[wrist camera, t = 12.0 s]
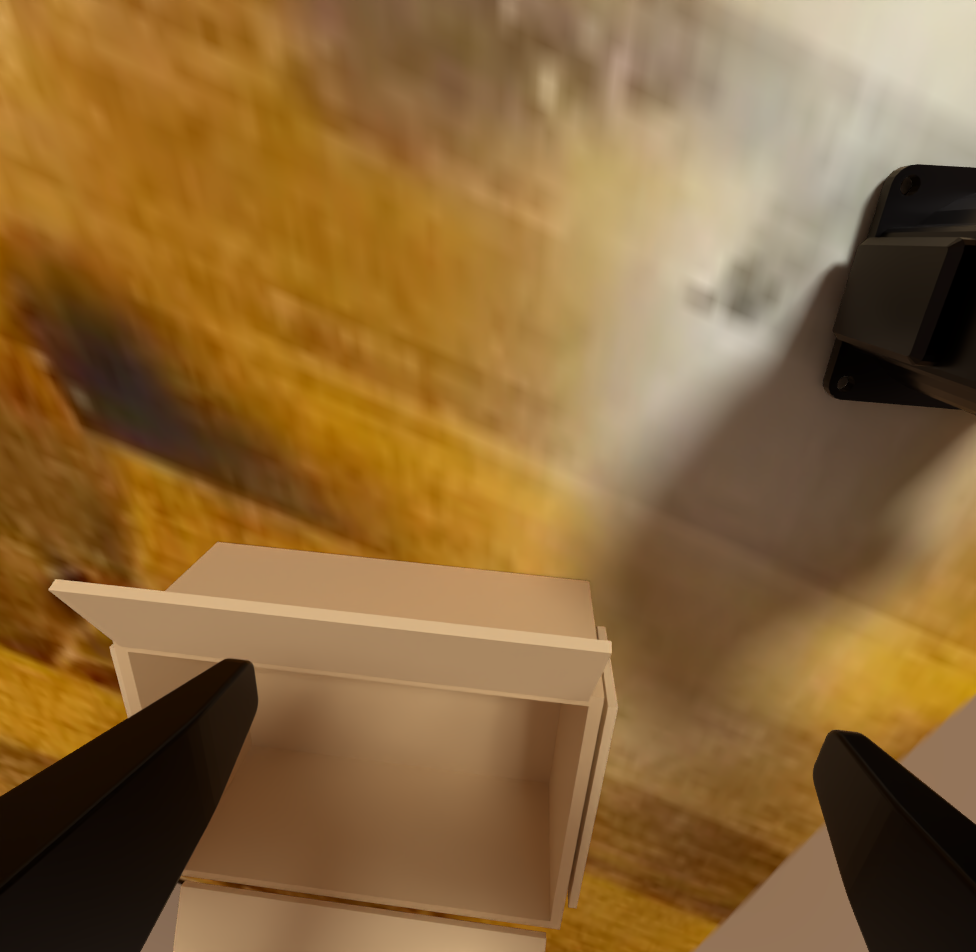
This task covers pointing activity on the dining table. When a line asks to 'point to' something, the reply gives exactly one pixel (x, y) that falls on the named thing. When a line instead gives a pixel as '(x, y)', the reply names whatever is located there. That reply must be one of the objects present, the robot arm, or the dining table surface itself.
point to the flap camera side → (326, 926)
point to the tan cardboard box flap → (342, 640)
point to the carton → (400, 748)
